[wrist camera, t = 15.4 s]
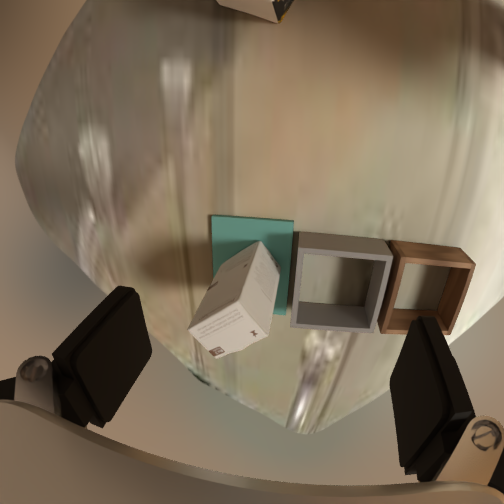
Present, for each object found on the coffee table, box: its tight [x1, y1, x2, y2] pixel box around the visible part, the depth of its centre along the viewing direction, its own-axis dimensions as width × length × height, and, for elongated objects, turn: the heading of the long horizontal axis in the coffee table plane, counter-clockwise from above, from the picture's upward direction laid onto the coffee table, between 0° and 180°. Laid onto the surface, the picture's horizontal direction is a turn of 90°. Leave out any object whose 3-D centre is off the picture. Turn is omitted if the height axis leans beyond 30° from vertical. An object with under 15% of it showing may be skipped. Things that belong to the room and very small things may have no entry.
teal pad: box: [212, 215, 294, 315], centre depth 36 cm, size 9×12×1 cm
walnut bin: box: [377, 240, 476, 335], centre depth 31 cm, size 10×10×4 cm
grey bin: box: [290, 232, 393, 333], centre depth 33 cm, size 10×10×4 cm
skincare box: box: [188, 241, 281, 359], centre depth 30 cm, size 6×4×12 cm
